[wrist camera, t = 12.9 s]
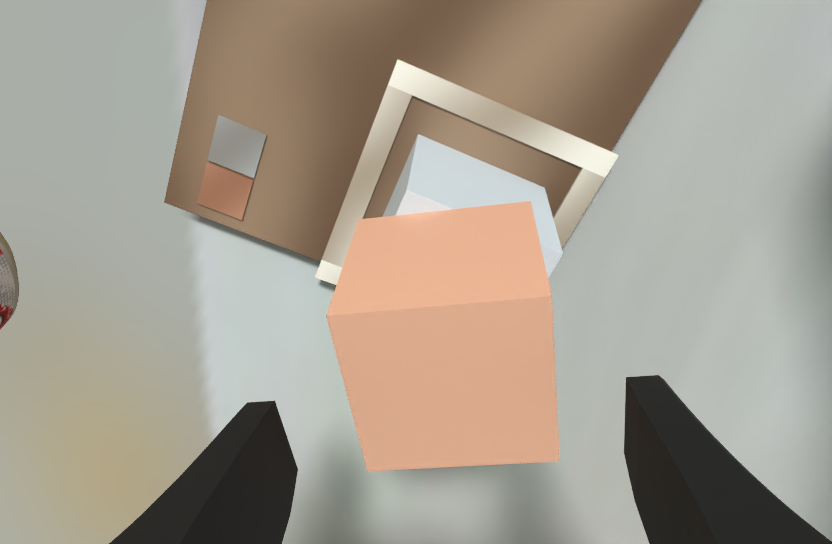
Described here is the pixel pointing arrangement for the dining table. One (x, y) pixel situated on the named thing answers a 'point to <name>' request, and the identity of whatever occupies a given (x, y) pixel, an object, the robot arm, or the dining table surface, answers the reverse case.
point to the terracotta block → (448, 339)
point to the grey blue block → (468, 190)
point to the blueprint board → (404, 104)
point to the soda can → (7, 282)
